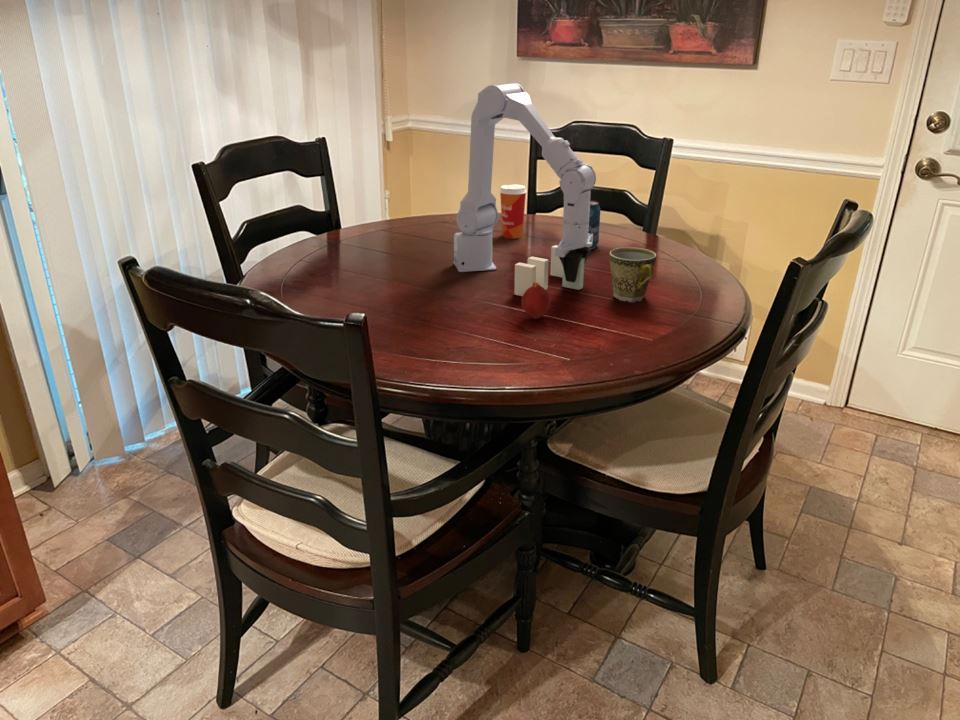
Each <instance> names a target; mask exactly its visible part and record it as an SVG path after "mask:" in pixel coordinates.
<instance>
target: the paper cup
mask: <svg viewBox="0 0 960 720" xmlns="http://www.w3.org/2000/svg"><path fill="white" fill-rule="evenodd" d="M499 193H500V212H501V213H500V215H501V230H502V231H501V232H502V233H501V234H502V237H503V238H504V237H505V239H508V238H509V240H510V239H511V240H513V239H515V240H516V238H517V239H520V238H523V230H524V222H525V221H524V219H525V218H524V217H525V207H526V206H525V205H526V196H527V189H526V186H525V185H522V184H517V183H515V184H503V185H501V186H500V188H499Z"/></svg>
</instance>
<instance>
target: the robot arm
mask: <svg viewBox="0 0 960 720" xmlns="http://www.w3.org/2000/svg"><path fill="white" fill-rule="evenodd" d="M503 119H508V120H509V119H510V120H514V121H518V122H519V123H521V125H522V126H523V127H524V128H525V129H526V131H527V132H528V133H529V134H530V135H531V136H532V137H533V139H534V140H536V142H537V144H539V145H540V146H541V156H542V158H543V159H544V160H545V162H546V163H547V164H548V165H549V167H550V168H551V169H552V170H553V172H554V173H555V174H556V176H557V177H558V178H559V179H560V180H559V183H558V184H559V187H560V190H561V191H562V194H563V214H562V215H563V217H562V218H563V220H562V235H561V237H562V239H561V241H560V242H559V244H558V245H557V246H558V247H556V251H555V256H558V257H559V258H560V260H561V263H562V265H563V269H564V273H565V278H566V281H569V282H575V280H576V277H577V271H578V266H579V263H580V260H581V258H585V261H584V265H585V264H586V261H587V259H588V258H589V256H590V254H591V253H592V249H591V248H589V247H590V246H592V242H593V234H588V229H589V212H590V200H591V194H592V193H591V190H592V189H593V187H595V185H596V182H597V175H596V172H595V170H594V168H593V166H592V165H590V164H589V163H588V164H587V163H584V161H583V160H582V159H581V158H578V156H577V154H576V153H575V152H574V151H573V150H572V149H571V147H570V145H571V143H570V142H569V141H568V140H564V138H563V137H556V136H555V135H554V134H553V132H552V131H551V130H550V128H549V126H548V125H547V123H546V122H545V121H544V119H543V118H542V116H541V115H540V114H539V112H538V110H537V109H536V108H535V106H534V105H533V103H532V99H531V96H530V94H528V92H526V91H525V89H524V88H523V86H522V85H521V84H519V83H517V82H509V83H503V84H490V85H487V86H486V87H485V88H482V90H480V91H479V92H478V94H477V102H476V105H475V107H474V108H473V111H472V113H471V118H470V137H469V141H470V143H469V160H468V161H469V163H468V183H467V184H468V188H467V193H466V194H465V195H464V196H463V197H462V199H461V201H460V203H459V204H460V206H459V210H458V212H457V213H456V224H457V227H458V228H459V230H460V232H455V233H454V235H453V265H454V266H455V268H456V270H457V272H459V273H464V272H466V273H467V272H479V271H480V272H482V271H497V266H496V264H495V263H494V262H493V231H494V226H495V225H496V224H497V222H498V221H499V211H498V208H497V198H496V196H495V195H494V194H493V193H492V181H493V167H494V166H493V164H494V148H495V147H494V146H495V129H496V128H495V127H496V124H498V123H499V122H501V121H502V120H503Z"/></svg>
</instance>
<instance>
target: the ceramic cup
mask: <svg viewBox="0 0 960 720" xmlns="http://www.w3.org/2000/svg"><path fill="white" fill-rule="evenodd" d="M656 259H657V253H656V252H654V251H653V250H650V249H646V248H642V247H634V246H633V247H632V246H631V247H630V246H628V247H627V246H625V247H617V248H614V249H612V250H610V251H609V263H610V264H609V267H610V272H611V281H612V292H613V297H614V298H616V299H617V300H618V299H619V301H622V302H626V301H628V303H636V301H638V302H642V301H643V300H642V299H645V297H646V293H647V290H648V285H649V282H650V279H652V277H653V276H654V267H655V263H656V261H657V260H656Z"/></svg>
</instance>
